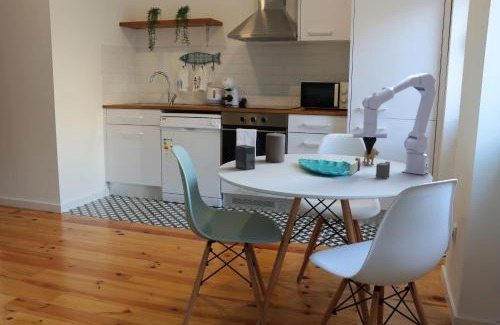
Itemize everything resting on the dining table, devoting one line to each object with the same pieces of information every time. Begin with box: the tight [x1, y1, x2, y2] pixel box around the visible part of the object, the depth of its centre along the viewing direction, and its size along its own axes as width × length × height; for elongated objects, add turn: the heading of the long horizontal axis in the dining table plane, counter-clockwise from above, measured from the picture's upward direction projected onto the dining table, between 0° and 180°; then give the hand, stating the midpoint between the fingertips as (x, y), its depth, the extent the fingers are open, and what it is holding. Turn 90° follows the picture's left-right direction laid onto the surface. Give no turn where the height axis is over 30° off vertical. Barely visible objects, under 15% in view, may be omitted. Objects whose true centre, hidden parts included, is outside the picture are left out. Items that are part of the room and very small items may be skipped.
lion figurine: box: [362, 146, 380, 166], centre depth 232 cm, size 15×5×9 cm, turn 8°
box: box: [235, 144, 256, 171], centre depth 218 cm, size 8×6×11 cm
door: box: [347, 160, 358, 175], centre depth 211 cm, size 10×2×4 cm, turn 154°
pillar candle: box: [265, 131, 286, 164], centre depth 236 cm, size 10×10×15 cm
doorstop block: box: [375, 162, 391, 180], centre depth 201 cm, size 4×5×6 cm
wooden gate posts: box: [354, 157, 391, 172], centre depth 212 cm, size 16×2×6 cm, turn 54°
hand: (368, 154), depth 207 cm, fingers closed
